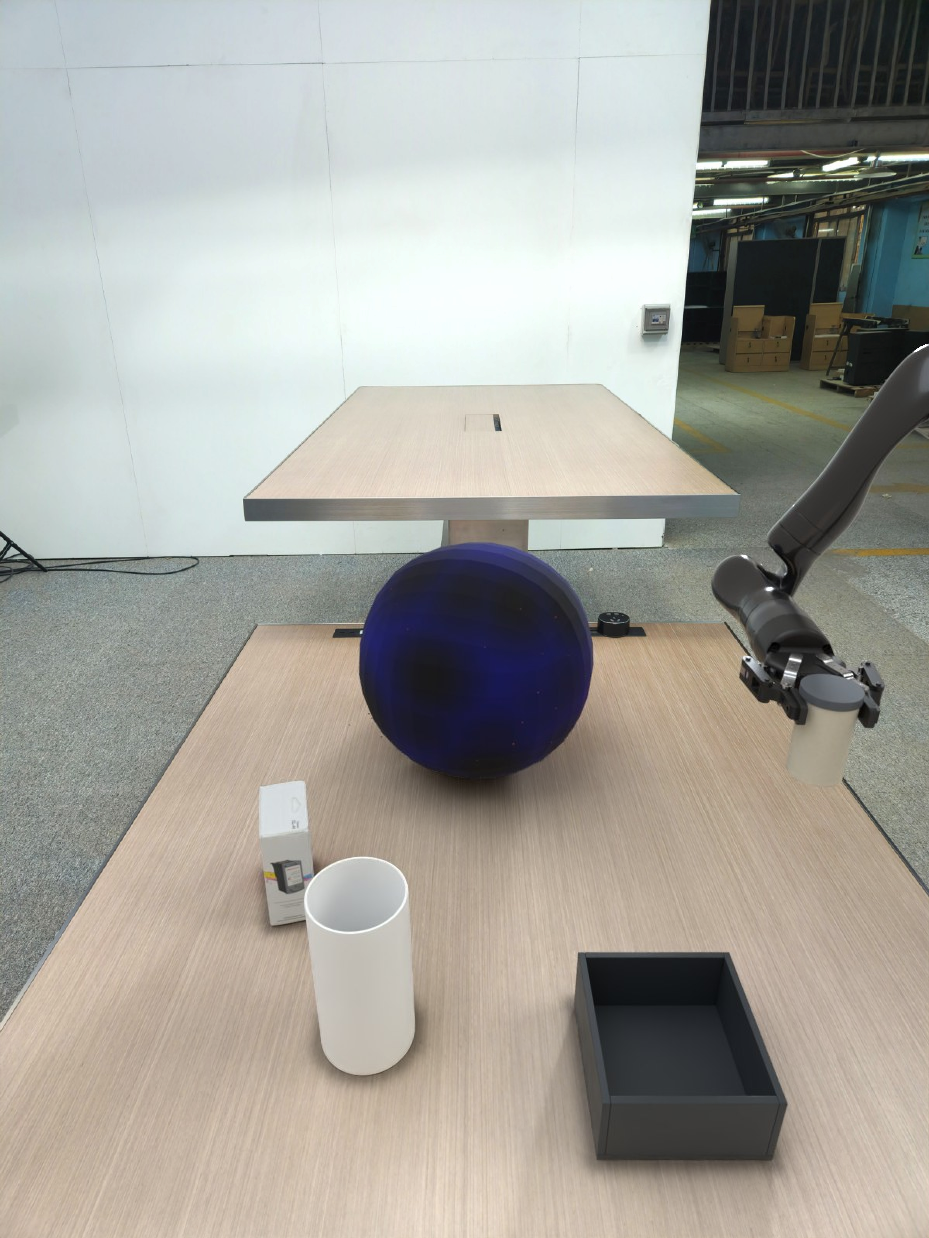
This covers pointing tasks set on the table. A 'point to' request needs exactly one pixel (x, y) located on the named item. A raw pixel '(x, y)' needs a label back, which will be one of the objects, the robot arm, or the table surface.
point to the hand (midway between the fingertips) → (837, 718)
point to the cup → (361, 963)
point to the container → (824, 730)
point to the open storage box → (674, 1059)
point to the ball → (476, 660)
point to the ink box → (285, 849)
